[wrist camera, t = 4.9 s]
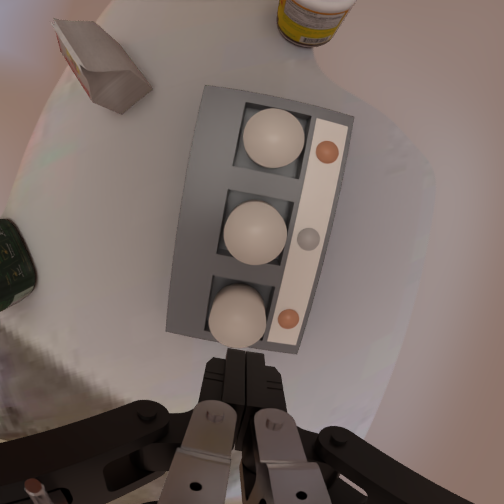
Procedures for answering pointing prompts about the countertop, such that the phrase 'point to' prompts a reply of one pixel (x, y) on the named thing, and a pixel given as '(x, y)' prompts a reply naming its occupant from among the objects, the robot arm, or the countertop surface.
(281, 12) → the supplement bottle
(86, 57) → the grey carton box
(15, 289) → the coffee jar
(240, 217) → the middle button
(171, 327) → the button board
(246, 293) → the button
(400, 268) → the countertop surface
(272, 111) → the button
